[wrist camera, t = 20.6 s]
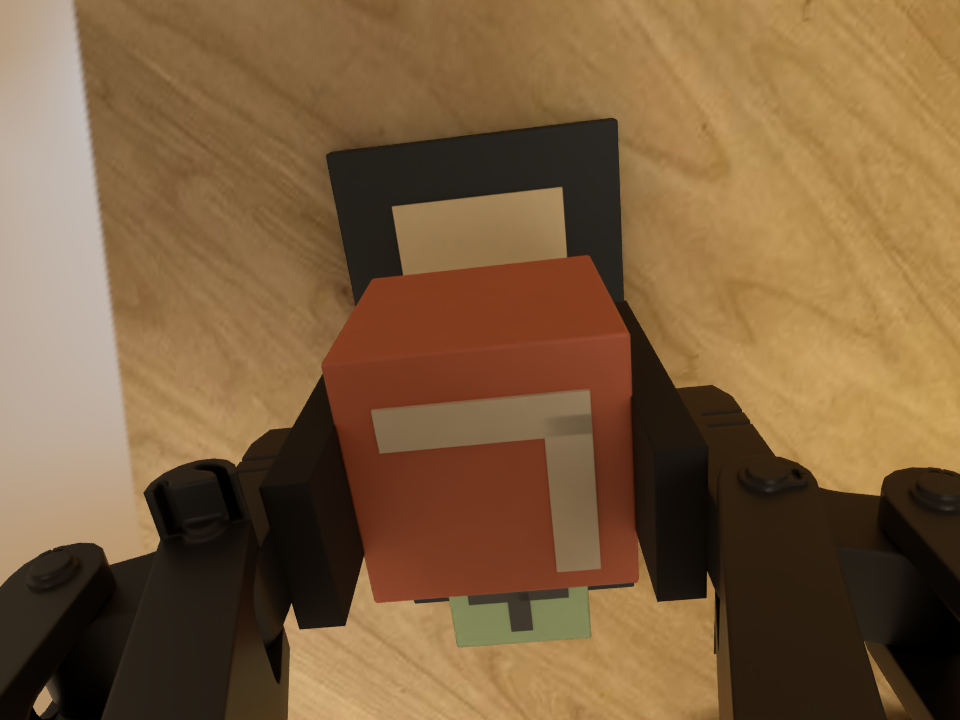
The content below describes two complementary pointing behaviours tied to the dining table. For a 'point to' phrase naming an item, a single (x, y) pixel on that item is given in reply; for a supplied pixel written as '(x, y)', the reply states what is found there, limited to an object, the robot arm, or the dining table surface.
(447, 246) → the word mat
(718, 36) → the dining table surface
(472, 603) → the green plus cube
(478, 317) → the letter block l
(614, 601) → the dining table surface
